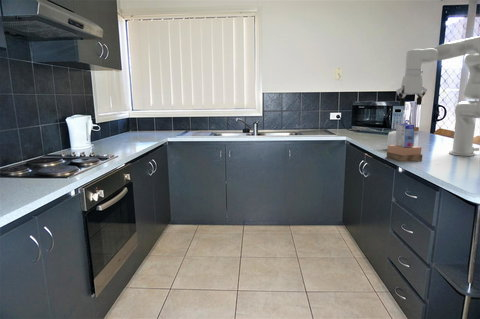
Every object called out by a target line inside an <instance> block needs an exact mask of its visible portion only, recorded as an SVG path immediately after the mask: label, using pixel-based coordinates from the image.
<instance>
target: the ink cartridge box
mask: <svg viewBox="0 0 480 319" xmlns="http://www.w3.org/2000/svg"><path fill="white" fill-rule="evenodd" d="M409 122H410V120H409V119H405V120H404V122H403V123H397V124H395V125H396V126H395V127H396V128H395V131H396V145H398V146H402V147H413V146H415V145H414V144H415V142H414V141H415V140H414V139H415V125H414V124H410V123H409Z"/></svg>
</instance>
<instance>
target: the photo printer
mask: <svg viewBox="0 0 480 319" xmlns="http://www.w3.org/2000/svg"><path fill="white" fill-rule="evenodd" d="M386 142H387V143H386V150H388V145H396V130H394V131H389V132H388V134H387V141H386Z"/></svg>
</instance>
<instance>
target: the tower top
mask: <svg viewBox="0 0 480 319" xmlns="http://www.w3.org/2000/svg"><path fill="white" fill-rule="evenodd" d="M387 152H389V153H394V154H398V155H402V156H404V155H418V154H422V147H421V146H417V145H414V146H413V147H402V146H398V145H388V149H387V150H386V153H387Z"/></svg>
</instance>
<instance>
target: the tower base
mask: <svg viewBox="0 0 480 319" xmlns="http://www.w3.org/2000/svg"><path fill="white" fill-rule="evenodd" d="M386 158H388V159H390V160H393V161H396V162H400V163H401V162H423V154H422V153H421V154H418V155H404V156H402V155H398V154H394V153H389V152H387V151H386Z"/></svg>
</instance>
